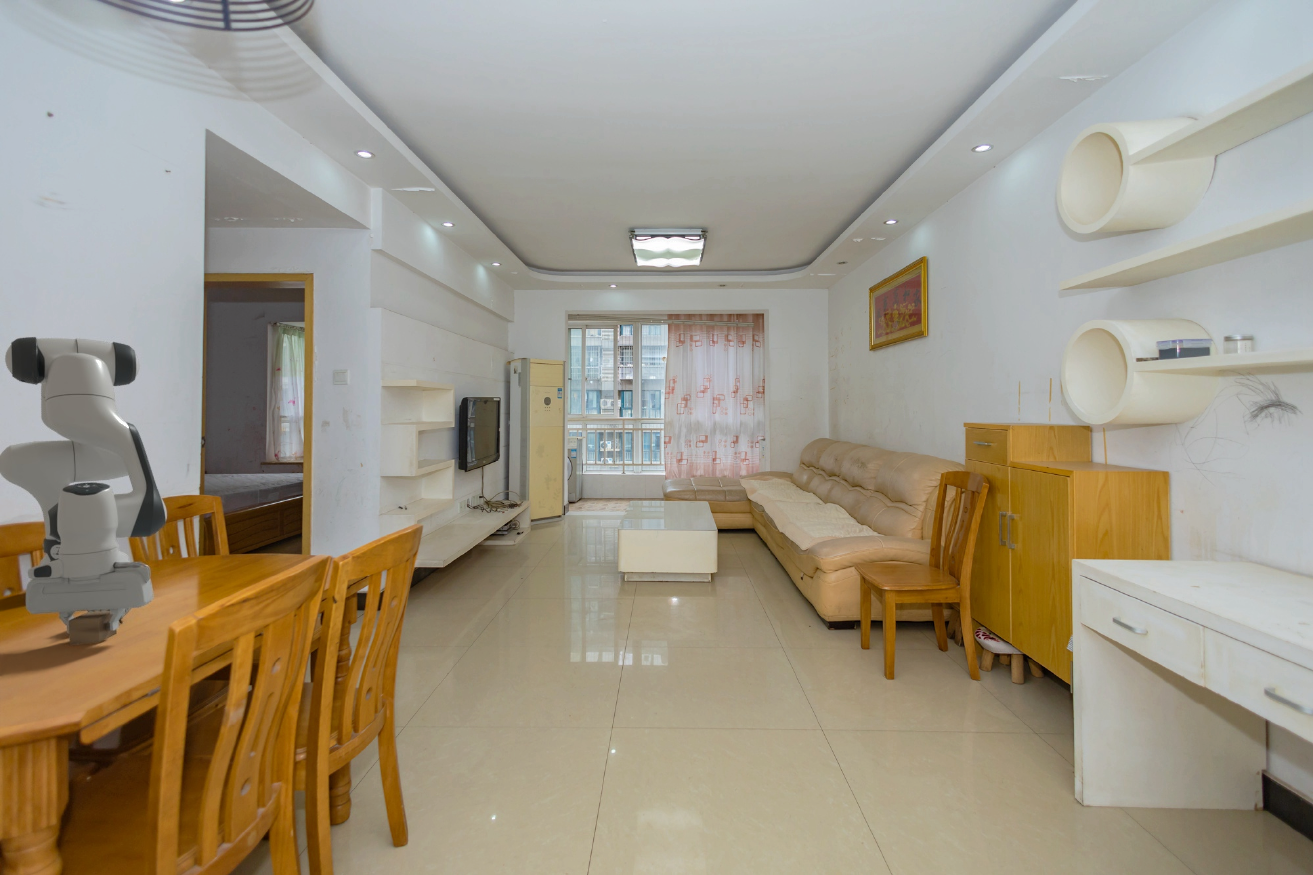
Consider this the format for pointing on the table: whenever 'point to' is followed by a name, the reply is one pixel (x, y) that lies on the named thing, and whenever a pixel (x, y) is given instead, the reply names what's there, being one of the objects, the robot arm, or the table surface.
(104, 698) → the table surface
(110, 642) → the table surface
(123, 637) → the table surface
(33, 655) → the table surface
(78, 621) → the walnut cube
